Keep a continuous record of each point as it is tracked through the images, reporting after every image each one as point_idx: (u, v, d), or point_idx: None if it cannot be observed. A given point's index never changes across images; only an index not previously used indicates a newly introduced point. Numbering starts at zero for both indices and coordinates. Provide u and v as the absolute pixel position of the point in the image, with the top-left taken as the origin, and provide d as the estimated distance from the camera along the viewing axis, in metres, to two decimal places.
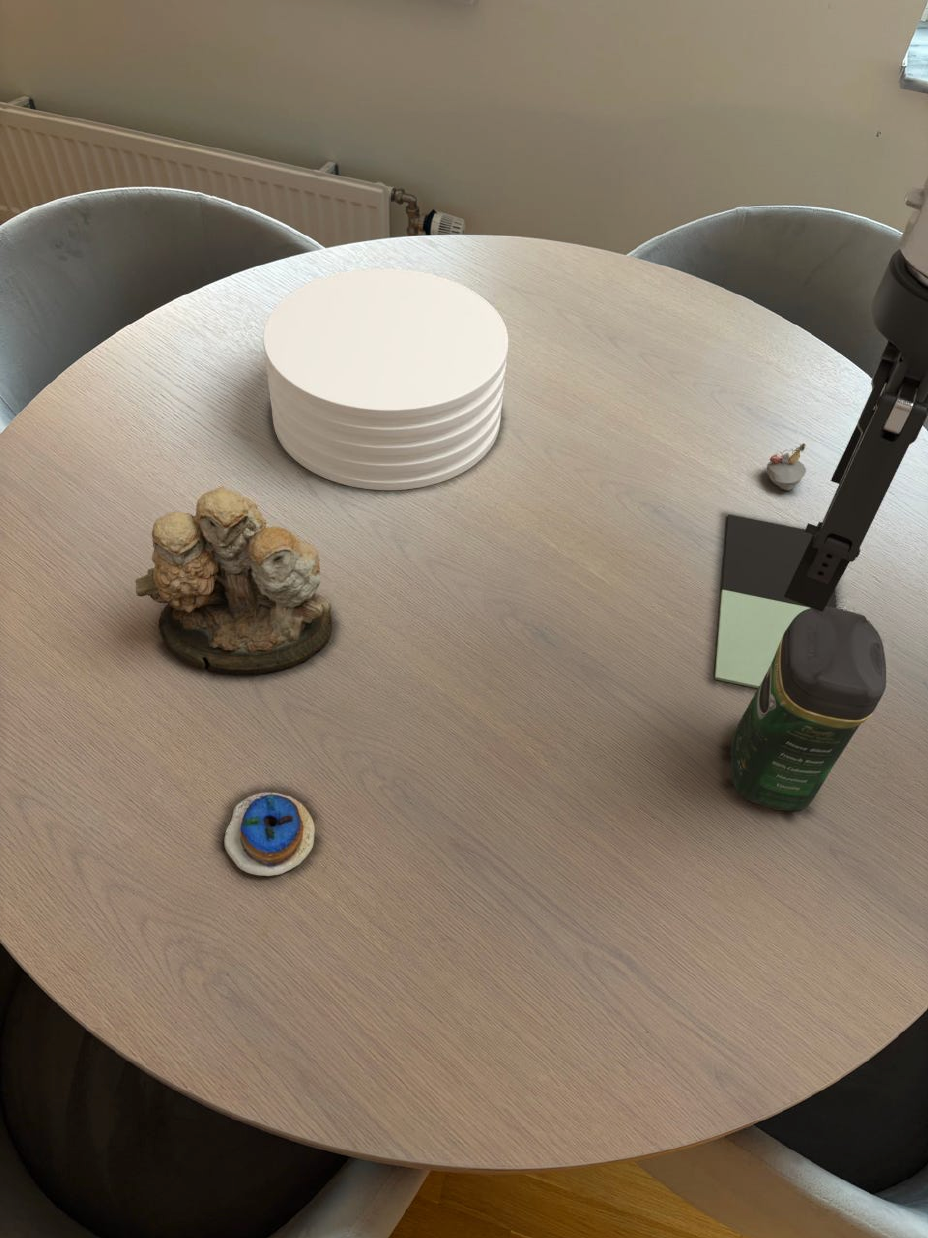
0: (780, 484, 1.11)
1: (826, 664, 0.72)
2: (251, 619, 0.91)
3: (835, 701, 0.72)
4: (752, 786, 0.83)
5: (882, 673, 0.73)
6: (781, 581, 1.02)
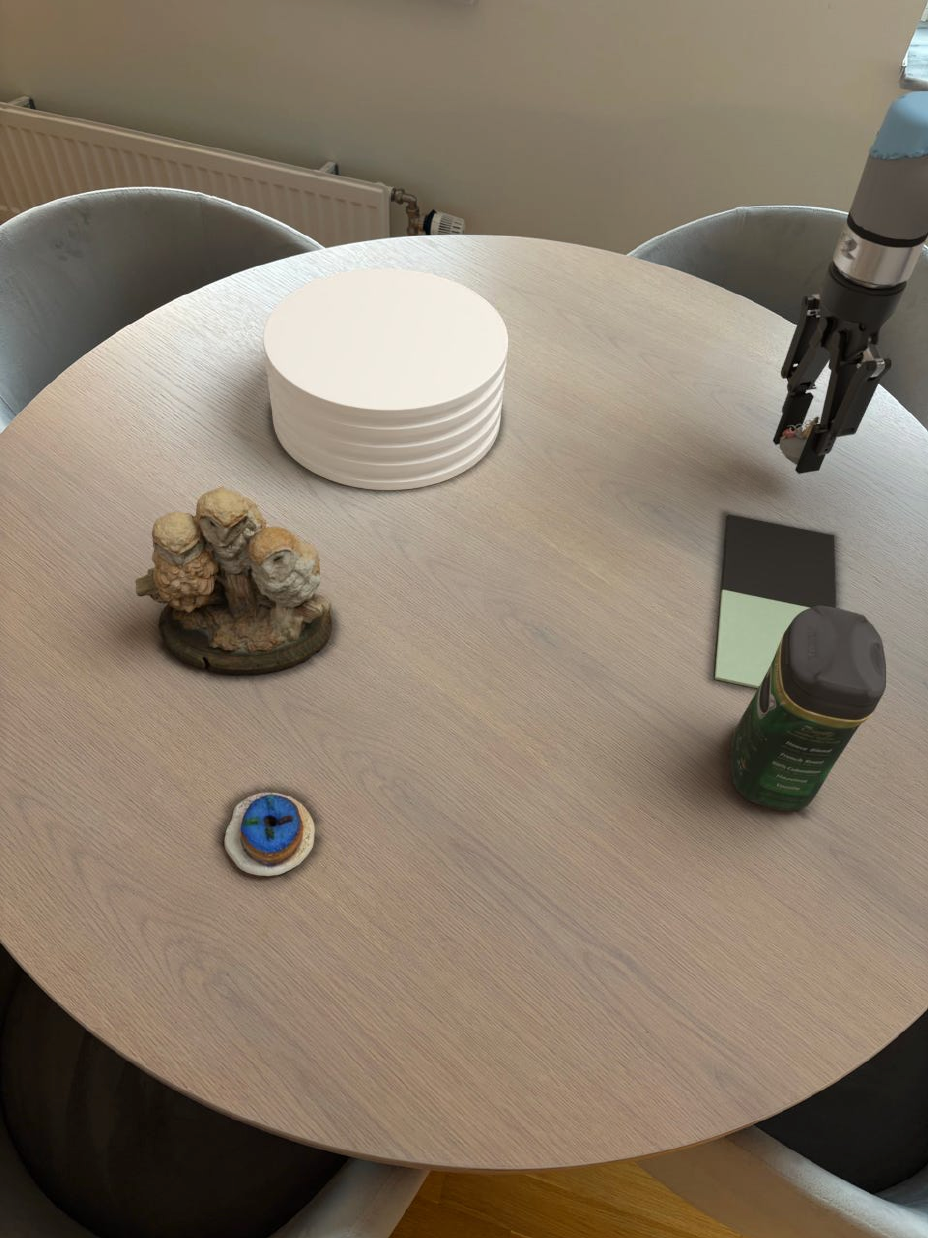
0: (793, 459, 1.08)
1: (826, 664, 0.72)
2: (251, 619, 0.91)
3: (835, 701, 0.72)
4: (752, 786, 0.83)
5: (882, 673, 0.73)
6: (781, 581, 1.02)
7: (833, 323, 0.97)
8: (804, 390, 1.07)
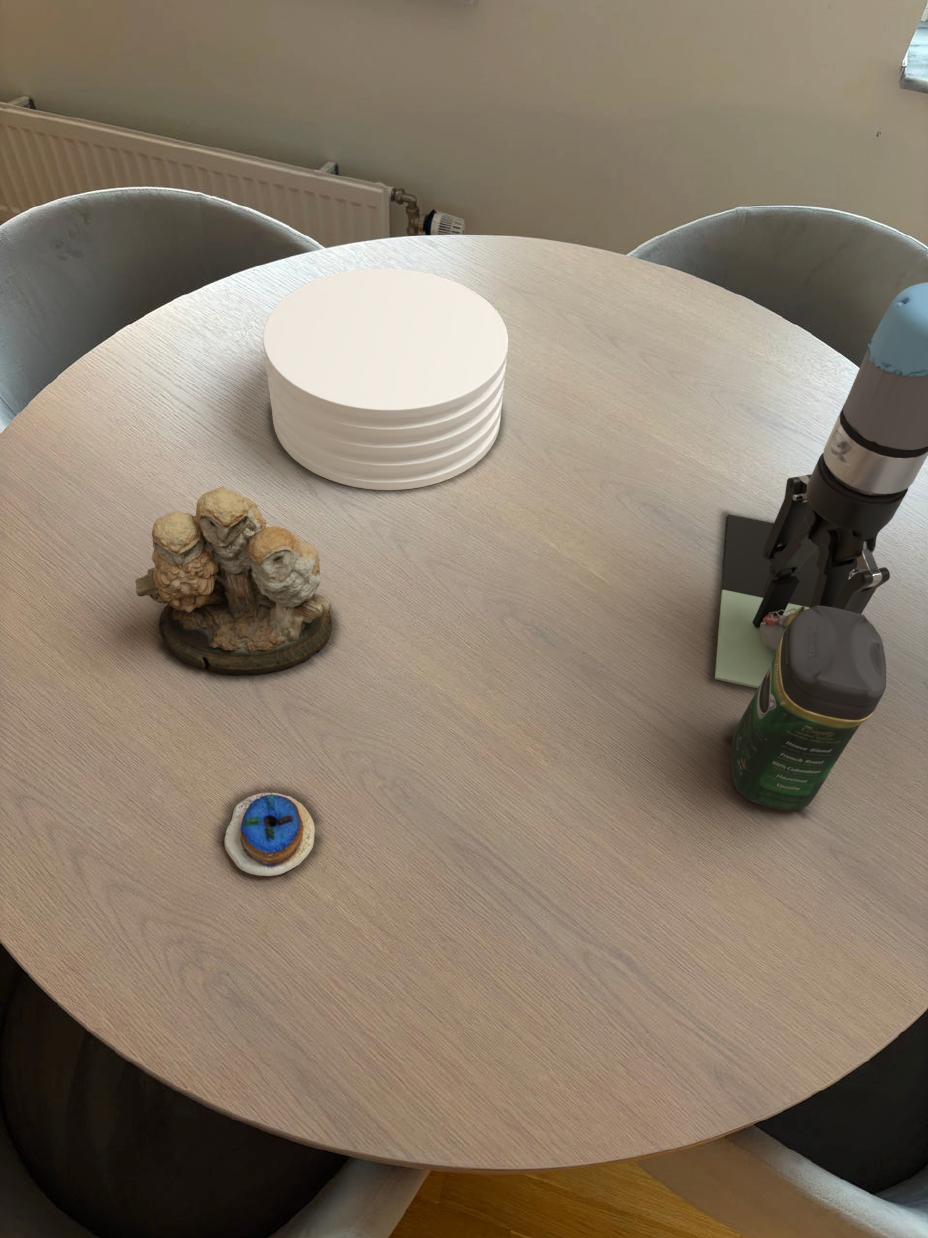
0: (775, 650, 0.94)
1: (826, 664, 0.72)
2: (251, 619, 0.91)
3: (835, 701, 0.72)
4: (752, 786, 0.83)
5: (882, 673, 0.73)
6: None
7: (822, 518, 0.84)
8: (788, 574, 0.93)
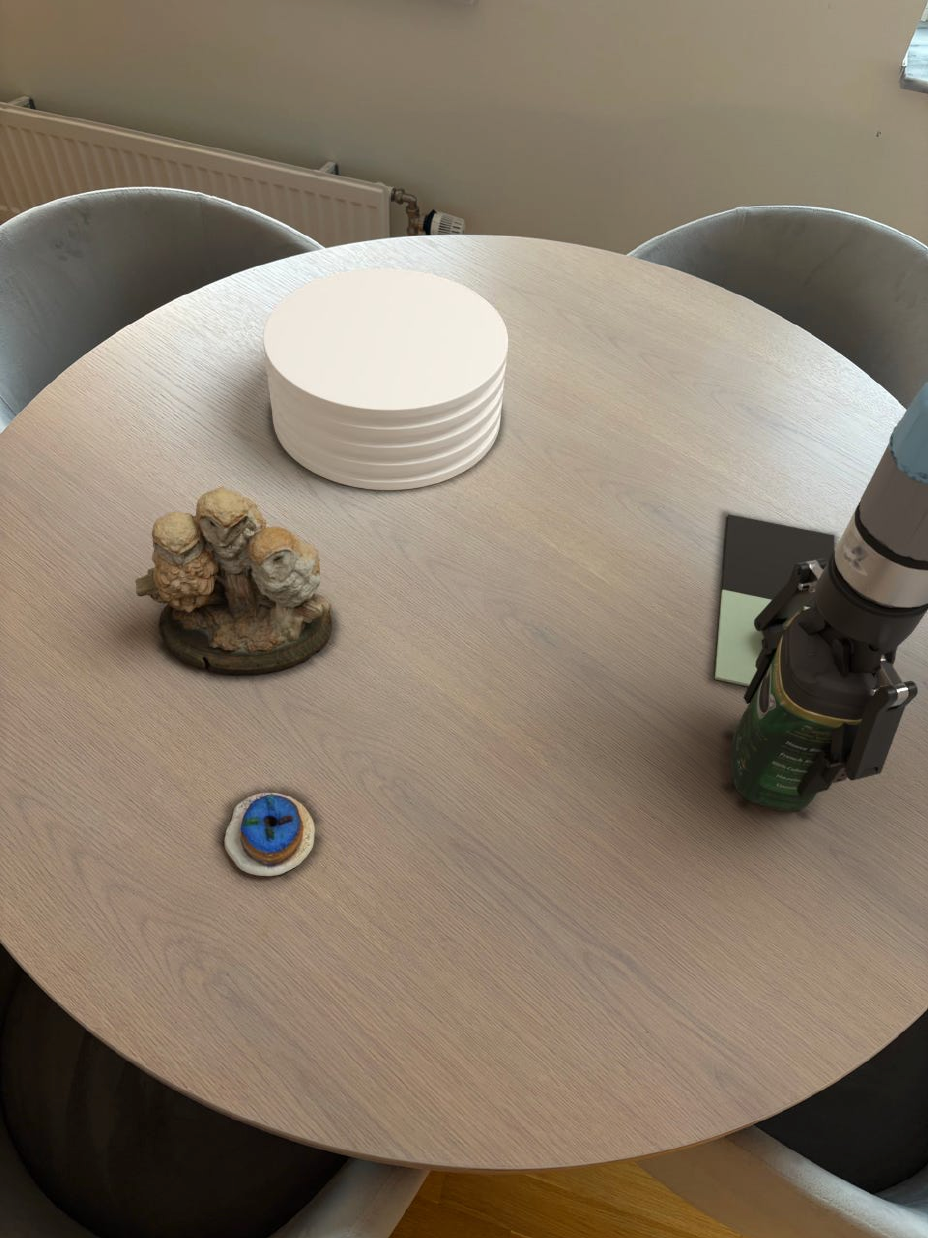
0: None
1: (826, 664, 0.72)
2: (251, 619, 0.91)
3: (834, 701, 0.72)
4: (752, 786, 0.83)
5: None
6: (781, 581, 1.02)
7: None
8: None
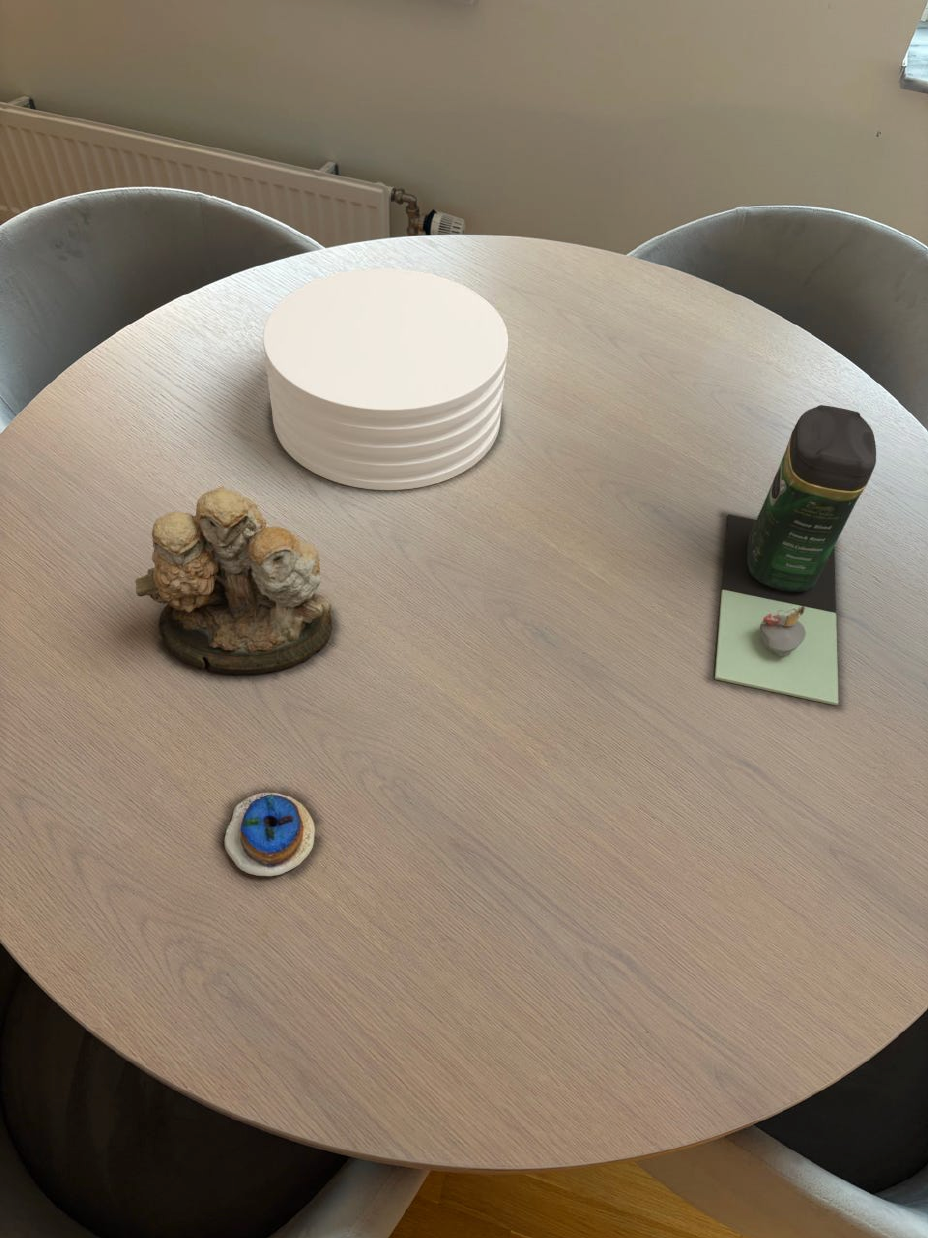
0: (775, 650, 0.94)
1: (827, 443, 0.89)
2: (251, 619, 0.91)
3: (834, 473, 0.89)
4: (765, 568, 1.00)
5: (873, 453, 0.90)
6: None
7: None
8: None
